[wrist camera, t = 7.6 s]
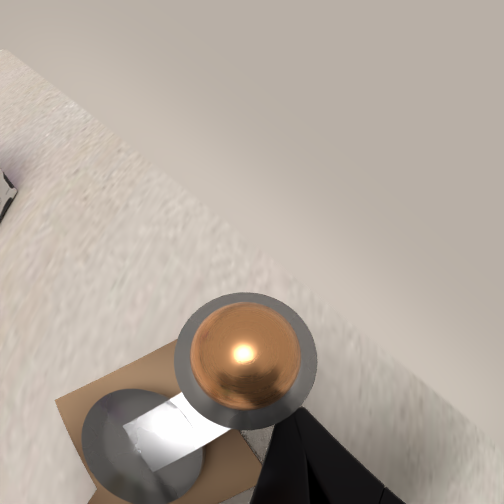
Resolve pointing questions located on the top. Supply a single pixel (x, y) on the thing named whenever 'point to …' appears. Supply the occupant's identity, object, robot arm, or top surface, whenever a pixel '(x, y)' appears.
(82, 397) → the brown panel stand
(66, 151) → the top surface
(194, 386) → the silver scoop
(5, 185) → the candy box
